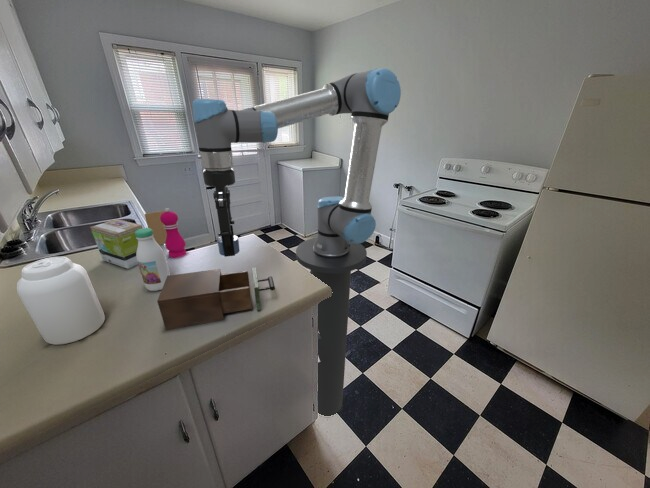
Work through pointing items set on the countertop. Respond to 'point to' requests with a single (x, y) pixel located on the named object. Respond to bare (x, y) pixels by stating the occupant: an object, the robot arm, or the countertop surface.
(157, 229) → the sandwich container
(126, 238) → the tea box
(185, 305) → the cabinet
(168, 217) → the pepper mill
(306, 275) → the countertop surface
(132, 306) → the countertop surface
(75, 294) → the white plastic jar
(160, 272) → the milk bottle
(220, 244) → the blue short cylinder
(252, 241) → the countertop surface
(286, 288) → the countertop surface
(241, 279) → the drawer
